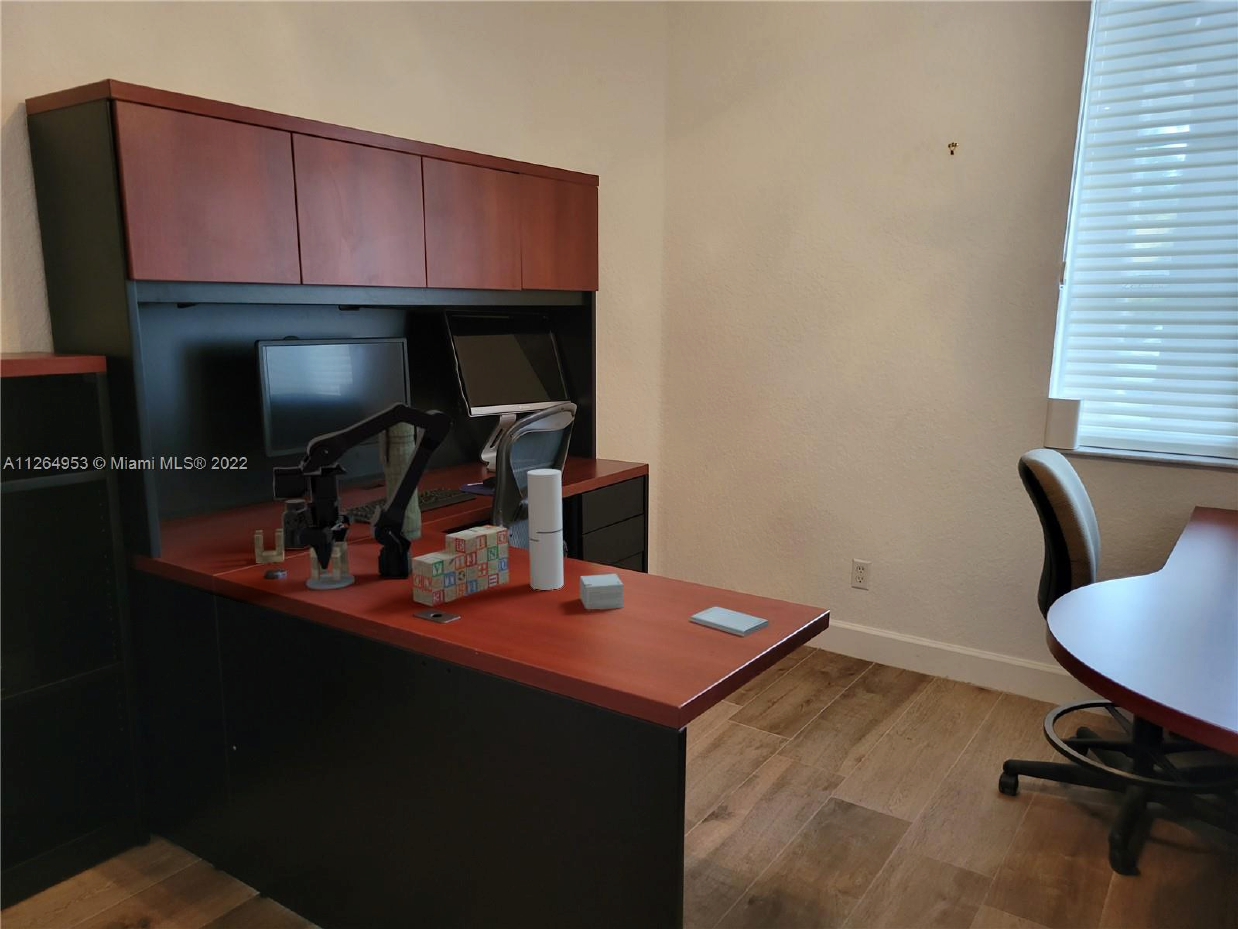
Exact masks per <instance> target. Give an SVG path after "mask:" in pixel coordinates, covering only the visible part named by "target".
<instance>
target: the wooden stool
mask: <svg viewBox="0 0 1238 929" xmlns="http://www.w3.org/2000/svg"><path fill="white" fill-rule="evenodd" d="M348 555H349V554H348V543H347V541H345V542H335V543H334V547H333V551H332V555H331V558H332V560H331V568H332V572H331V574H333V580H340V579H341V578H342V577H341V574H349V558H348V557H349V556H348ZM309 556H310V558H309V559H310V571H311V578H312V580H319V579H321V575H325V574H329V568H328V569H322V568H321V565H320V563H319V560H318V558H317V555H316V553H315V551H314V549H313V547H309ZM331 558H330V559H331Z"/></svg>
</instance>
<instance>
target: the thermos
mask: <svg viewBox="0 0 1238 929" xmlns="http://www.w3.org/2000/svg"><path fill="white" fill-rule="evenodd" d="M392 405H393V404H388V406H385V408H384V410H385V409H387V408H389V407H391V406H392ZM405 405H406V406H408V405H407V404H405ZM418 430H419V427H416V426H413V425H410V424H407V423H404V422H401V423H398V424H396V425H394V426H392V427H390V428H388V429H386V430H384V431H383V432H381V433H379V434H377V440H378V454H379V456H378V457H379V464H380V465H382V469H383V471H382V472H383V474H384V475H385V488H386V489H385V490H386V503H387V502H388V501H389V500H390V497H391V495H392V493H393V491H394V489H395V487H396V485H397V483H398V481H399V479H400V477H401V475H402V473H403V470H404V468H405V466H406V464H407V462H408V460H409V458H410V456H411V454H412V452H413V450H414V448H415V445H416V441H417V435H418ZM418 493H419V492H418V487H417V488H416V490H415V492H414V494H413V496H412V498H411V500H410V502H409V504H408V506H407V508H406V512H405V519H404V524H403V528H402V532H403V533H404V534H405V535H406V536H407V538H408V539H409V540H410V542H412V541H415V540H418V539H420V538H422V533H421V532H422V530H421V528H422V514H421V509H420V507H419V497H418V495H419V494H418Z"/></svg>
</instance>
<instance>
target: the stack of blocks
mask: <svg viewBox="0 0 1238 929" xmlns="http://www.w3.org/2000/svg"><path fill="white" fill-rule="evenodd" d="M411 561H412V569H413V572H412V573H411V575H412V589H413V590H412V591H413V601H414V602H416V603H419V604H420V603H421V604H423V605H425V606H429V607H436V606H438V605H441V604H444V603H445V602H446V603H449V602H452V601H455V600H457V599H461V598H463V597H462V596H465V597H467V596H469V594H470V595H472V594H471V593H473V592H476V593H478V591H479V592H481V591H480V590H482V591H484V590H483V589H485V590H488V589H487V588H489V589H491V588H490V587H492V588H494V587H493V586H495V585H498V586H501V585H503V584H502V583H504V584H506V583H505V582H507V583H509V582H510V578H509V576H510V575H509V572H510V571H509V542H508V528H504V527H500V526H495V525H494V526H493V525H489V524H486V525H483V526H475V527H472V528H469V529H465V530H462V531H461V530H460V531H459V532H454V533H450V534H445V549H442V550H439V551H436V552H431V553H427V554H424V555H419V556H416V557H411ZM500 584H501V585H500ZM495 587H496V586H495ZM473 594H474V593H473ZM460 597H461V598H460ZM454 599H455V600H454Z"/></svg>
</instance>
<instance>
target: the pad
mask: <svg viewBox="0 0 1238 929" xmlns="http://www.w3.org/2000/svg"><path fill="white" fill-rule="evenodd" d="M320 575H321V579H319V580H312V577H310V578H309V579H307V581H306V586H307V588H309V589H311V590H312V589H313V590H319V591H321V590H323V591H325V590H326V591H328V590H335V589H341V588H345V587H348V586H350V585H353V584H354V582H355V576H353V575H352V574H349V573H347V574H341V577H342V578H341V579H340V580H333V573H327V574H320Z"/></svg>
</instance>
